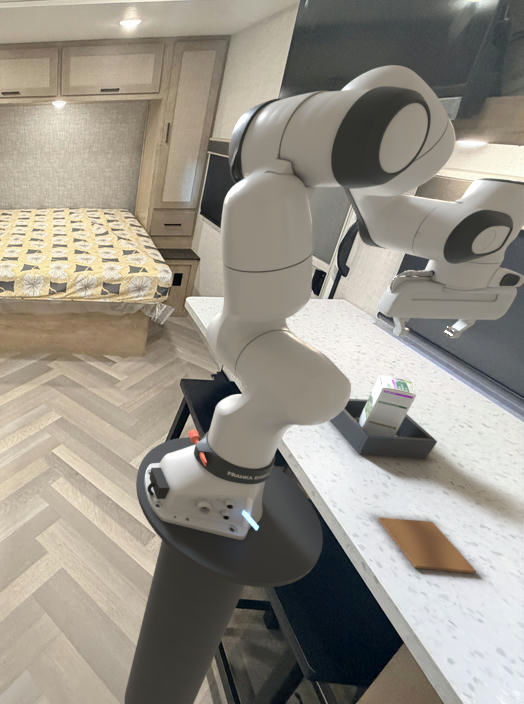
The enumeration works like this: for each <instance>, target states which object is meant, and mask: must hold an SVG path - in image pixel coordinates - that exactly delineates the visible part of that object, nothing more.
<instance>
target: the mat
mask: <svg viewBox="0 0 524 704" xmlns="http://www.w3.org/2000/svg"><path fill="white" fill-rule="evenodd" d="M377 521H378V522H379V523H380V524H381V526H382V528H383V529H384V530H385V531H386V532H387V534H388V535H389V536H390V538H391V539H392V540H393V542H394V543H395V544H396V547H398V548H399V549H400V550H399V551H401V552H402V554H403V555H404V556H405V557H406V559H407V560H408V561H409V563H410V564H411V565H412V567H413V568H414V569H421V570H422V569H423V570H433V571H443V572H444V571H445V572H457V573H467V574H476V573H477V570H476V569H475V568H474V566H472V565H471V563H469V560H467V559H466V558H465V557H464V556H463V554H462V553H461V552H460V551H459V550H458V548H456V547H455V545H454V544H453V543H452V542H451V541H450V540H449V539H448V537H447V536H446V535H445V534H444V533H443V532H442V531H441V530H440V529H439V527H438V526H437V525H436V524H435V523H434V522H433V521H430V520H429V521H427V520H417V519H416V520H415V519H404V518H403V519H402V518H392V517H391V518H389V517H378V518H377Z"/></svg>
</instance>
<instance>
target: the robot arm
mask: <svg viewBox="0 0 524 704" xmlns="http://www.w3.org/2000/svg"><path fill="white" fill-rule="evenodd" d="M228 143H229V144H228V165H229V173H230V177H231V180H232V182H234V185H232V187H231V188H230V189H229V190H228V191H227V193H226V196H225V197H224V200H223V205H222V213H221V221H220V236H219V237H220V239H219V240H220V241H219V242H220V245H219V246H220V261H221V274H222V289H223V304H222V310H220V311H219V312H217V314H215V315H214V316H213V317H212V319H211V320H210V321H209V323H208V325H207V327H206V332H205V340H206V342H207V344H208V346H209V347H210V350H211V351H212V352H213V355H214V356H215V357H216V359H217V360H218V361H219V362H220V363H221V364H222V365H223V366H224V367H225V368H226V369H227V370H228V371H229V372H230V373H231V374H233V375H234V377H235V378H236V379H238V381H239V382H240V384H241V388H242V392H241V393H237V394H236V393H235V394H231V395H229V396H228V395H227V396H226V397H224V398H223V399H221V400H220V401H219V402H217V404H216V405H215V407H214V408H215V409H214V412H213V416H212V419H211V423H210V427H209V430H208V431H207V432H205V433H204V435H202V437H201V436H200V433H199V431H198V430H197V429H190V430H188V432H187V435H188V437H190V441H191V442H192V443H195V445H192V446H189V447H187V448H184V449H181V450H178V451H175V452H171V453H168V454H166V455H165V456H164V457H163V458H162V460H161V462H160V463H153V464H150V465H149V466H148V468H147V470H146V473H145V479H144V482H145V490H146V494H147V498H148V501H149V503H150V506H151V508H152V509H153V511H154V512H155V514H156V515H157V516H158V517H159V518H160V519H161V520H162V521H164V522H168V523H172V524H176V525H180V526H184V527H188V528H192V529H197V530H201V531H205V532H209V533H213V534H217V535H221V536H225V537H229V538H233V539H237V540H243V539H245V537H246V535H247V533H248V530H249V529H250V528H251V527H252V526H253V527H254V529H255V530H258V527H259V526H258V525H257V524H256V523H258V522H259V520H260V519H261V517H262V513H263V508H262V496H263V489H264V485H265V480H267V479H268V477H269V476H270V473H271V471H272V468H273V465H274V466H275V462H276V452H277V450H278V447H279V445H280V444H281V441H282V439H283V437H284V435H285V433H286V432H287V431H288V430H289V429H290V428H292V427H293V426H300V427H301V426H303V427H308V426H309V427H310V426H316V425H321V424H324V423H327V422H329V421H330V420H331V419H333V418H335V417H336V416H337V415H339V414H340V413H341V412H342V411H343V409H344V408H345V407H346V405H347V403H348V401H349V399H351V398H350V397H351V393H352V385H351V381H350V380H349V378H348V377H347V376H346V375H345V373H344V372H343V371H342V370H341V369H340V368H339V367H338V366H337V365H336V363H334V362H333V361H332V360H331V359H330V358H329V357H328V355H326V354H325V353H323V352H322V351H320V350H319V349H317V348H315V347H314V346H312V345H311V344H309V343H308V342H306V341H305V340H303V339H302V338H300V337H299V336H297V335H296V334H295V333H293V332H292V331H291V329H290V327H289V326H288V324H287V319H288V318H291V317H293V316H294V315H296V314H297V313H299V312H300V311H301V310H302V309H304V308H305V307H306V305H307V304H308V303H309V301H310V299H311V298H312V289H313V288H312V284H313V256H314V254H313V253H314V230H313V219H312V212H311V205H310V203H311V200H312V197H313V195H314V194H315V191H316V188H340V187H343V190H344V192H345V194H346V197H347V199H348V201H349V203H350V205H351V207H352V209H353V211H354V214H355V216H356V220H357V231H358V235H359V237H360V239H361V242H362V243H363V244H365V245H366V246H369V247H375V248H378V249H379V248H381V249H386V250H392V251H395V252H399V253H403V254H406V255H410V256H415V257H419V258H423V259H426V260H428V262H427V265H426V266H425V268H424V270H413V269H412V270H411V269H410V270H409V269H408V270H404V271H403V272H401V273H398V274H397V275H395V276H393V278H392V280H391V282H390V283H389V285H388V286H387V288H386V289H385V290H384V292H383V294H382V295H381V297H380V299H379V300H378V303H377V305H376V307H377V309H378V312H379V313H381V314H383V315H384V316H386V317H387V318H392V319H393V323H394V327H393V330H392V334H393V335H394V336H396V337H398V338H399V337H402V338H403V337H404V338H405V337H407V336H408V334H409V333H410V331H411V330H410V329H409V328H408V327H407V326H406V323H408V322H410V320H411V319H435V320H437V319H439V320H457V321H456V322H455V323H454V324H452V325H451V326H446V327H445V330H444V331H443V336H445V337H447V338H448V339H458V338H460V336H461V335H462V333H463V332H464V331H466V330H468V329H469V328H471V327H472V326H473V325H475V323H476V322H477V320H479V321H496V320H498V319H500V318H502V317H503V316H505V315H506V313H507V312H508V311H509V309H510V307H511V306H512V304H513V303H514V300H515V298H516V296H517V294H518V289H517V288H519V287H521V286H522V285H523V284H524V275H523V274H521V273H519V272H516V271H514V270H512V269H510V268H509V269H508V268H506V267H505V266H502V263H503V261H504V259H505V254H506V253H505V252H506V250H507V248H508V247H509V245H510V244H511V243H512V242H514V240H515V239H516V238H517V237H518V235H519V233H520V231H521V230H522V229H523V227H524V181H519V180H511V179H505V178H493V177H486V178H485V177H484V178H483V177H482V178H478V179H475V180H474V181H472V183H471V184H470V185H469V186H468V188H467V189H466V191H464V194H463V195H462V196H461V198H459V199H456V200H455V201H448V200H441V199H433V198H428V197H421V196H415V195H410V194H408V192H410V191H413V190H415V189H418V188H419V187H420V186H422V185H424V184H426V183H427V182H429V181H430V180H431V179H433V178H434V177H436V175H438V174H439V173H440V172H441V171H442V170H443V169H444V167H445V166H446V165H447V163H449V161H450V159H451V157H452V156H453V154H454V151H455V148H456V131H455V128H454V124H453V123H452V121H451V118H450V117H449V115H448V113H447V110H446V109H445V106H444V105H443V102H441V100H440V98H439V96H438V95H437V94H436V93H435V92H434V90H433V89H432V88H431V87H430V86H429V84H427V82H426V81H425V80H424V79H423V78H422V77H421V76H420V75H419V74H418V73H416V72H415V71H414V70H413V69H411V68H408V67H406V66H403V65H398V64H397V65H396V64H395V65H394V64H392V65H391V64H390V65H389V64H388V65H384V66H379V67H375V68H372V69H370V70H368V71H366V72H363V73H362V74H360V75H358V76H356V77H355V78H354V79H352V80H350V81H349V82H348V83H347V84H346V85H345V86H344V87H343V88H342V89H340V90H332V91H331V90H317V91H312V92H307V93H302V94H297V95H293V96H290V97H286V98H273V99H270V100H266V101H264V102H262V103H259V104H257V105H255V106H253V107H251V108H249V109H248V110H246V111H245V112H244V113H243V114H242V115H241V116H240V118H239V119H238V121H237V122H236V124H235V126H234V128H233V130H232V133H231V136H230V139H229V142H228ZM406 193H407V194H406ZM149 474H150V475H149ZM156 506H158V507H156ZM230 530H232V531H233V532H232V531H230Z"/></svg>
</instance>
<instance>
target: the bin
mask: <svg viewBox="0 0 524 704" xmlns="http://www.w3.org/2000/svg"><path fill="white" fill-rule="evenodd" d="M367 401H368V399H363V398H362V399H360V398H349V401H348V403H347V405H346V407H345V408H344V409H343V411H342V412H341V413H340V414H339V415H337V416H336V417H335V418H333V419H331V420H329V421H330V422H331V423H332V424H333V426H334V427H335V428H336V430H338V432H339V433H340V434H341V436H343V437H344V439H345V440H346V441H347V442H348V443H349V445H350V446H351V447H352V448H353V449H354V450H355V451H356V452H357V454H358V455H365V456H366V455H369V456H380V457H381V456H382V457H383V456H384V457H399V458H414V459H416V458H417V459H427V458H428V457H429V455H430V454H431V452H432V451H433V450H434V447H435V446H436V444H437V443H438V441H437V439H435V438H434V437H433V436H432V435H431V434H429V433H428V431H427V430H426V429H424V428H423V427H422V426H421V425H420V424H419V423H417V421H416V420H414V419H413V418H412V417H410V415H409V414H408V413H407V414H406V416H405V418H404V420H403V421H402V423H401V425H400V427H399V429H398V431H397V433H396V434H397V435H398V436H394V437H393V436H376V435H369V434H368V433H367V432H366V431H365V430H364V429H363V428H362V427H361V426H360V424H359V423H358V420H356V419H355V418H359V417H360V415H361V413H362V411H363V409H364V407H365V405H366V403H367Z"/></svg>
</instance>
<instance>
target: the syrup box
mask: <svg viewBox="0 0 524 704" xmlns="http://www.w3.org/2000/svg"><path fill="white" fill-rule="evenodd" d="M416 397H417V394H416V391H415V388H414V385H413V383H412V381H409V380H406V379H403V378H399V377H394V376H390V375H389V376H388V375H383V374H379V375H378V378H377V380H376V382H375V384H374V386H373V388H372V390H371V393H370V394H369V396H368V399H367V400H368V401H367V403H366V405H365V407H364V409H363V411H362V413H361V415H360V417H358V419H357V422H358V423H359V424H360V426H361V427H362V428H363V429H364V430H365V431H366V432H367V433H368V434H369V435H376V436H393V437H396V434H397V431H398V429H399V427H400V425H401V423H402V421H403V420H404V418H405V416H406V414H407V415H408V412H409V410H410V408H411V406H412V404H413V402H414V401H415V399H416Z"/></svg>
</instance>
